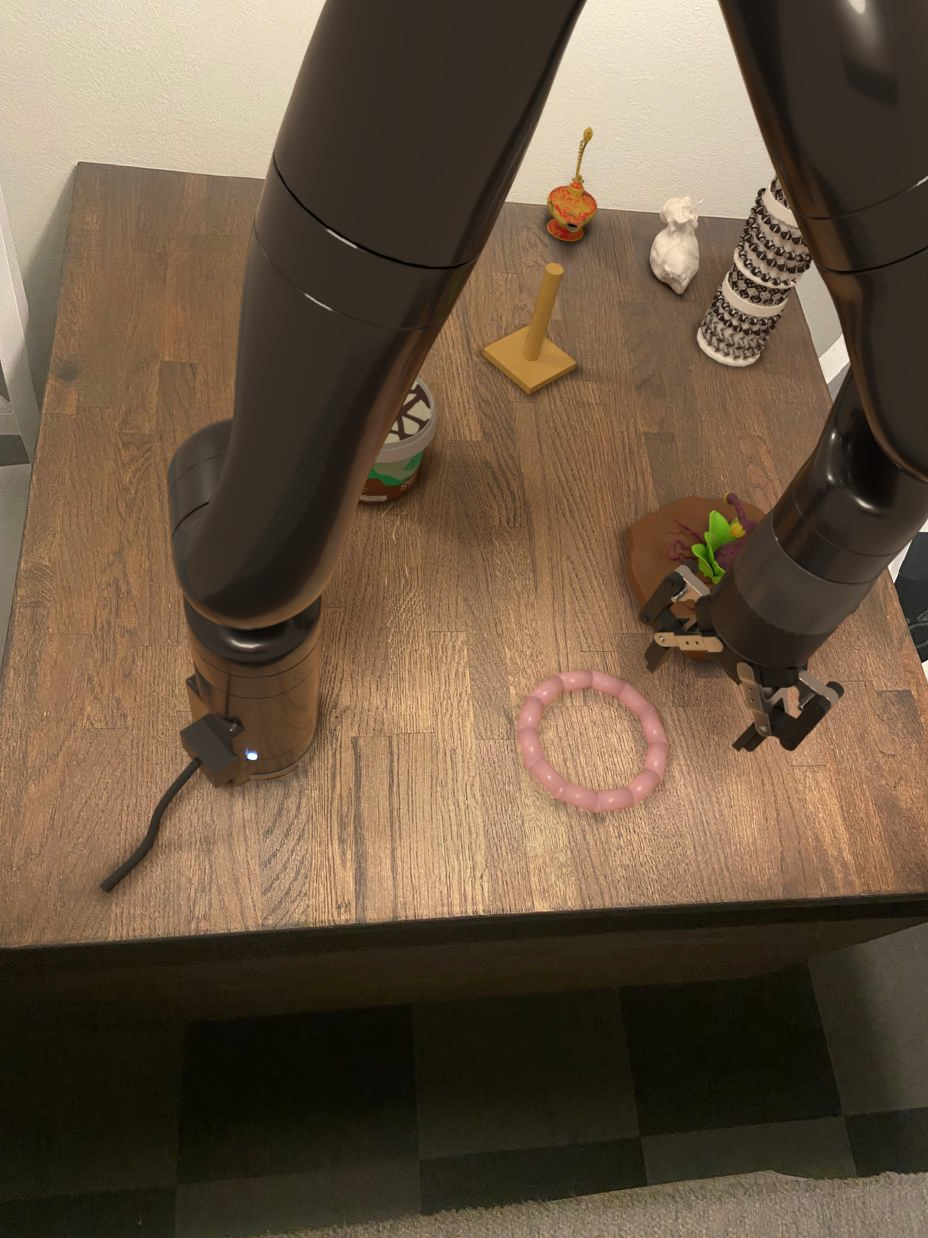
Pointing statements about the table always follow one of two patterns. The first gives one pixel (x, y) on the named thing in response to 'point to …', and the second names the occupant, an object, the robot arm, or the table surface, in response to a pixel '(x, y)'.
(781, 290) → the decorative candle
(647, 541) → the plant
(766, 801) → the table surface
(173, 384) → the table surface
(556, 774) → the ring
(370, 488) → the food container
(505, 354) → the stand
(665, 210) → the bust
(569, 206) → the orange ornate vessel
